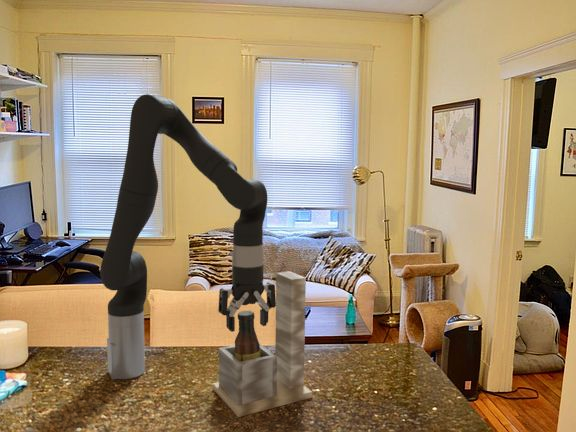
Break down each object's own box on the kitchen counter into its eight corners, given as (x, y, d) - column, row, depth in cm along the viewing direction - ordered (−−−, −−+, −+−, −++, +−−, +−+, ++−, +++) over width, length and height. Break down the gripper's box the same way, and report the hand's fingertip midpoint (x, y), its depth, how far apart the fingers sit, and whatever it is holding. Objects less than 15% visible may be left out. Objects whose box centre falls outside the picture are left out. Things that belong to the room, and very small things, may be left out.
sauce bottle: (265, 387, 126) (265, 311, 124) (253, 398, 121) (253, 318, 118) (242, 382, 129) (242, 307, 126) (230, 392, 123) (229, 314, 121)
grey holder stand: (238, 417, 115) (238, 291, 111) (212, 388, 129) (212, 276, 125) (312, 397, 125) (314, 281, 121) (281, 373, 138) (282, 268, 135)
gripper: (267, 257, 127) (266, 319, 129) (214, 262, 120) (214, 327, 122) (281, 262, 121) (280, 328, 123) (226, 268, 114) (226, 337, 116)
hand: (247, 327), depth 123 cm, fingers open, 8 cm apart
